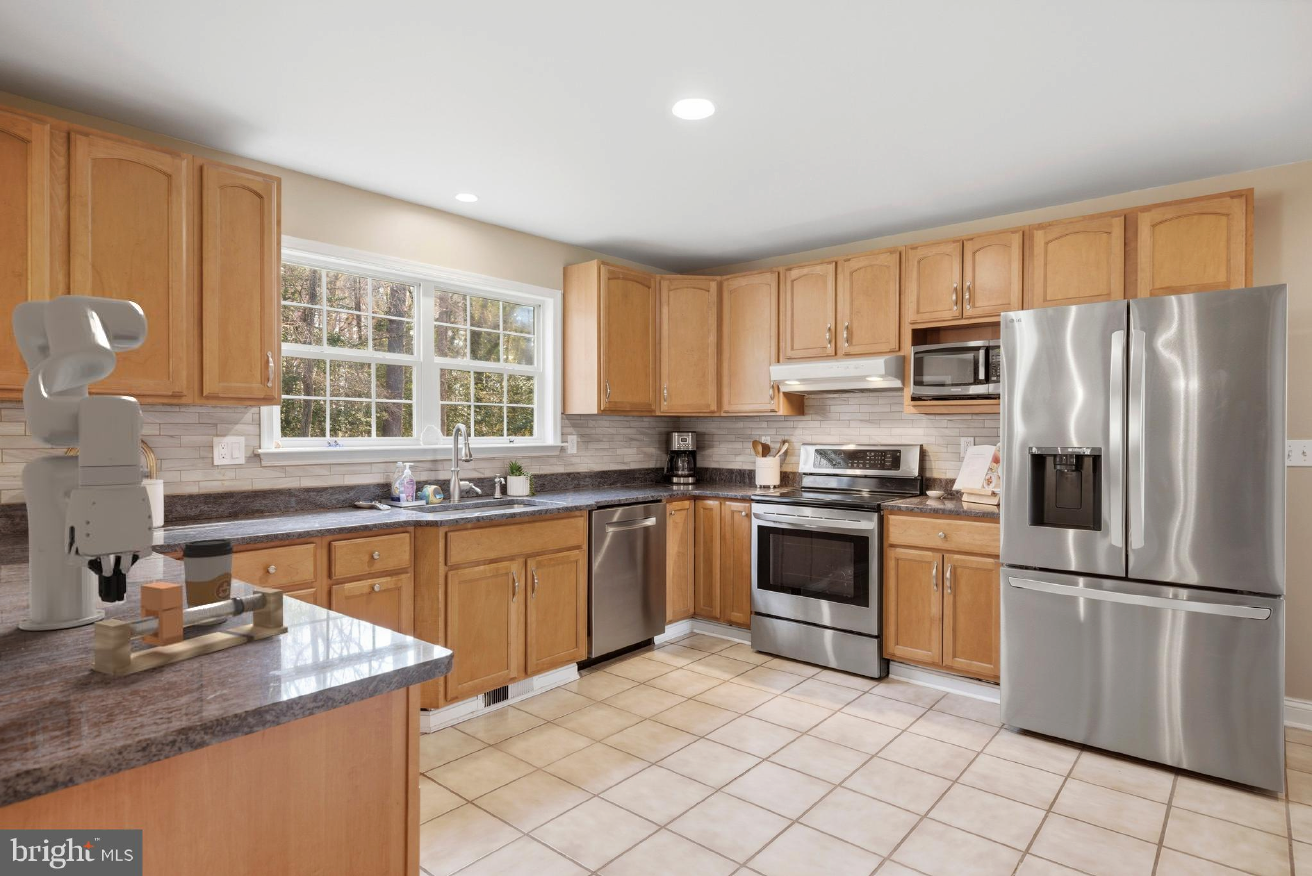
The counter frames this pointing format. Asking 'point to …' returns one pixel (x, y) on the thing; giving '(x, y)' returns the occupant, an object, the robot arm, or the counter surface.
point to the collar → (163, 612)
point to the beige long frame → (120, 661)
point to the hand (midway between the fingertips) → (112, 600)
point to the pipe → (202, 614)
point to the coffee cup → (208, 573)
